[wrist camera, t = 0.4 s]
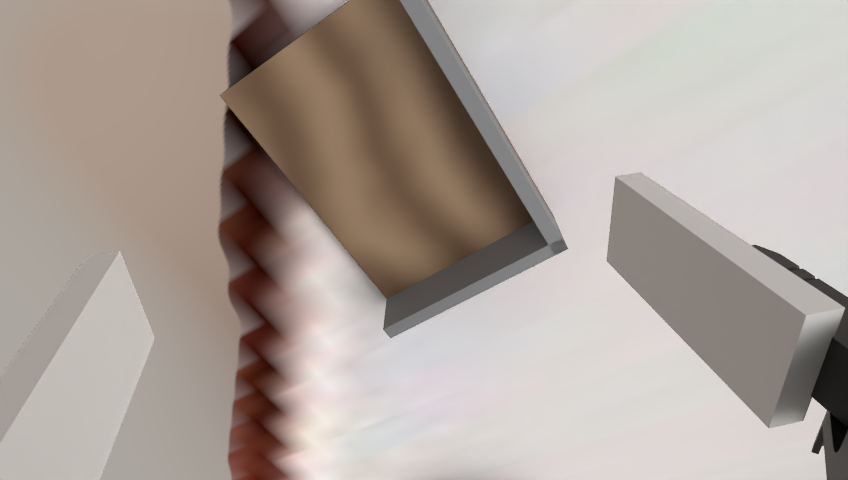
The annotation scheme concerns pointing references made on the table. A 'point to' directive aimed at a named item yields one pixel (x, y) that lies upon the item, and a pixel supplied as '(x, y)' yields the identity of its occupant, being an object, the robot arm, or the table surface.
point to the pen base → (380, 144)
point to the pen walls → (500, 255)
